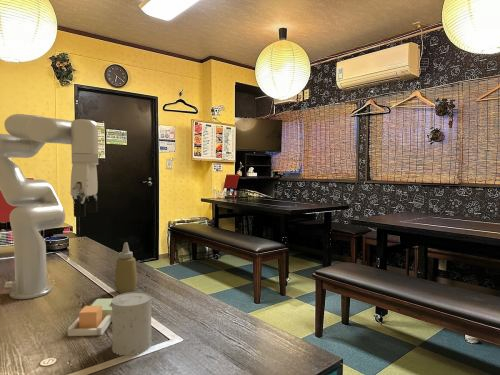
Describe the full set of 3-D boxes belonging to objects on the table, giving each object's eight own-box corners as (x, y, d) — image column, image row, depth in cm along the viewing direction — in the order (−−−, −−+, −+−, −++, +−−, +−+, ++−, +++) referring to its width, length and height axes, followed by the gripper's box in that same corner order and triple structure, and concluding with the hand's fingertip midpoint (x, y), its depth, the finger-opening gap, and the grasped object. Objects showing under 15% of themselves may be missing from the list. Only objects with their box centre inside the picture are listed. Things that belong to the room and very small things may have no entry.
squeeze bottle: (130, 296, 121) (129, 245, 120) (109, 294, 123) (109, 244, 122) (142, 288, 129) (141, 241, 128) (122, 286, 131) (121, 239, 130)
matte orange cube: (79, 332, 95) (79, 312, 95) (85, 324, 100) (85, 305, 99) (96, 331, 96) (96, 312, 95) (102, 324, 100) (102, 305, 100)
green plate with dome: (67, 336, 93) (67, 322, 93) (92, 308, 111) (92, 297, 110) (126, 334, 94) (126, 320, 94) (141, 307, 112) (141, 296, 112)
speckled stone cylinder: (118, 337, 93) (117, 292, 92) (154, 336, 93) (154, 291, 93) (106, 356, 83) (106, 306, 82) (147, 355, 84) (147, 305, 83)
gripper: (83, 160, 116) (84, 211, 117) (59, 159, 99) (60, 218, 100) (106, 160, 117) (107, 211, 118) (86, 159, 99) (87, 218, 100)
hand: (86, 214), depth 109 cm, fingers open, 9 cm apart
